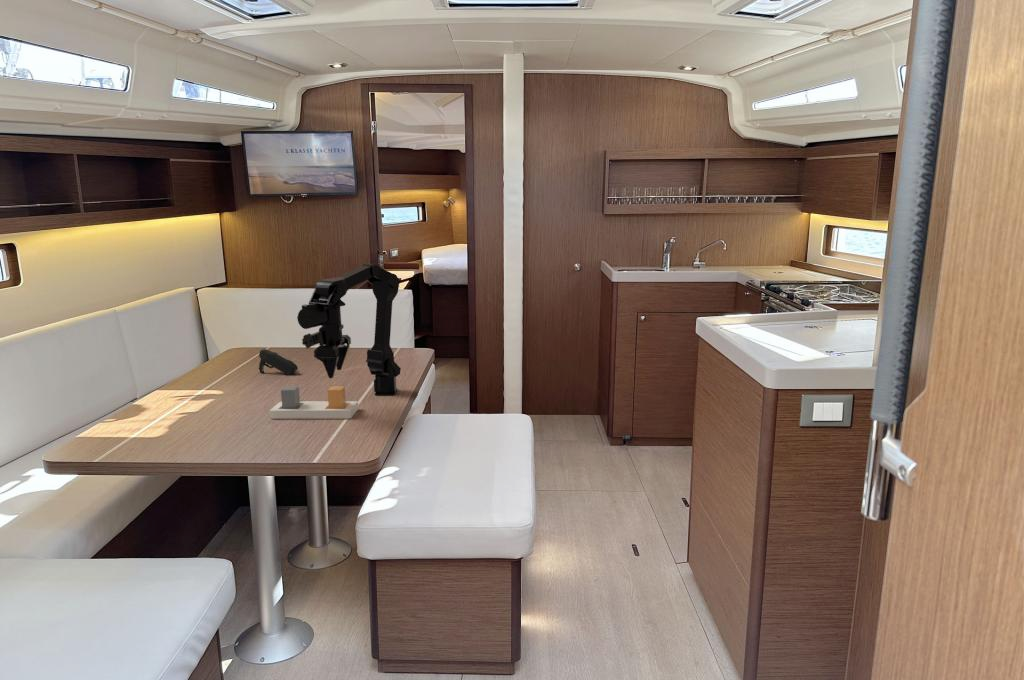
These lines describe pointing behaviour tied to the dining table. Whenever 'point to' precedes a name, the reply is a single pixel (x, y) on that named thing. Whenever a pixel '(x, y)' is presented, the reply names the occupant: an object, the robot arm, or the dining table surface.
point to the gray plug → (290, 397)
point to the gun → (276, 362)
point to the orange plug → (336, 397)
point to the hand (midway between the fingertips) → (335, 373)
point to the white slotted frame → (314, 411)
